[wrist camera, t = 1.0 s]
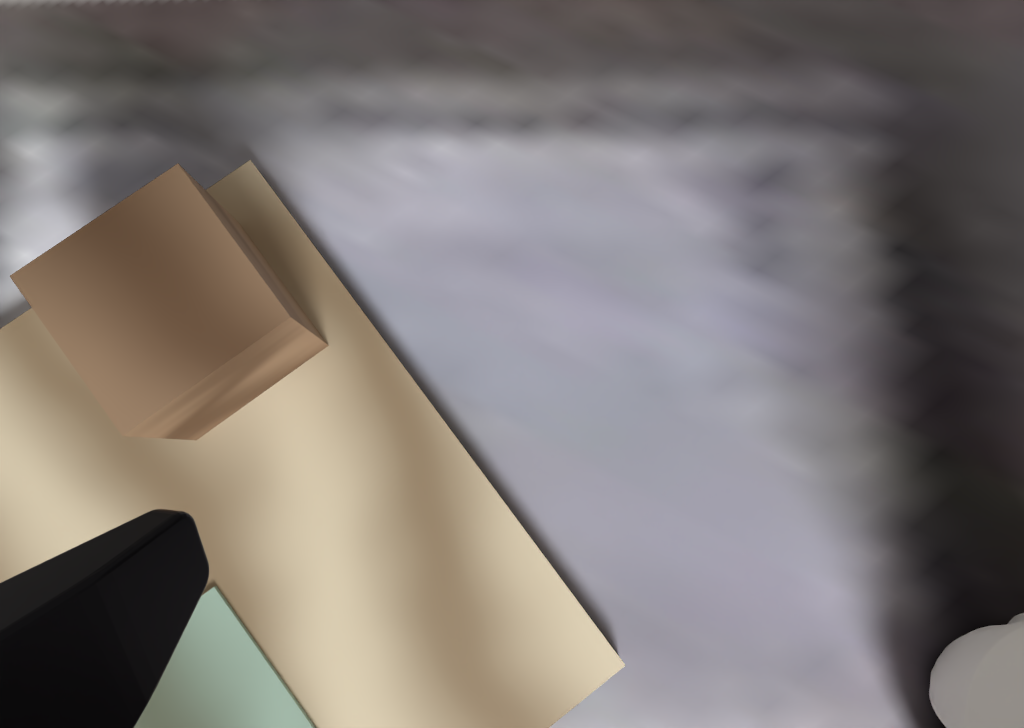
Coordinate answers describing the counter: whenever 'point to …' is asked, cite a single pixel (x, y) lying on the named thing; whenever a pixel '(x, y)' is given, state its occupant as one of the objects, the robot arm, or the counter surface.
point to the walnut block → (169, 311)
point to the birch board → (308, 531)
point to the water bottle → (981, 678)
